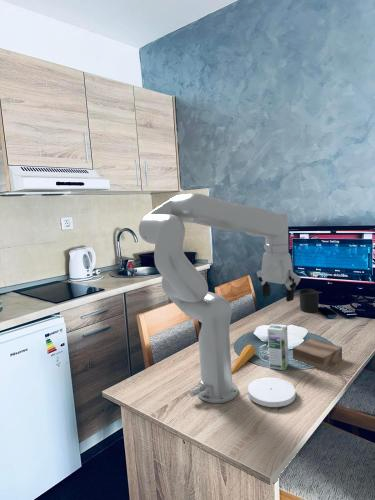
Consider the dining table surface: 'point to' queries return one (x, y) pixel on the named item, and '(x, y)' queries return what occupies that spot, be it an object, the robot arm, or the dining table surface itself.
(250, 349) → the carrot
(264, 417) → the dining table surface
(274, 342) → the syrup box
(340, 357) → the walnut block
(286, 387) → the plastic lid
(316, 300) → the pen holder
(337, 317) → the dining table surface
